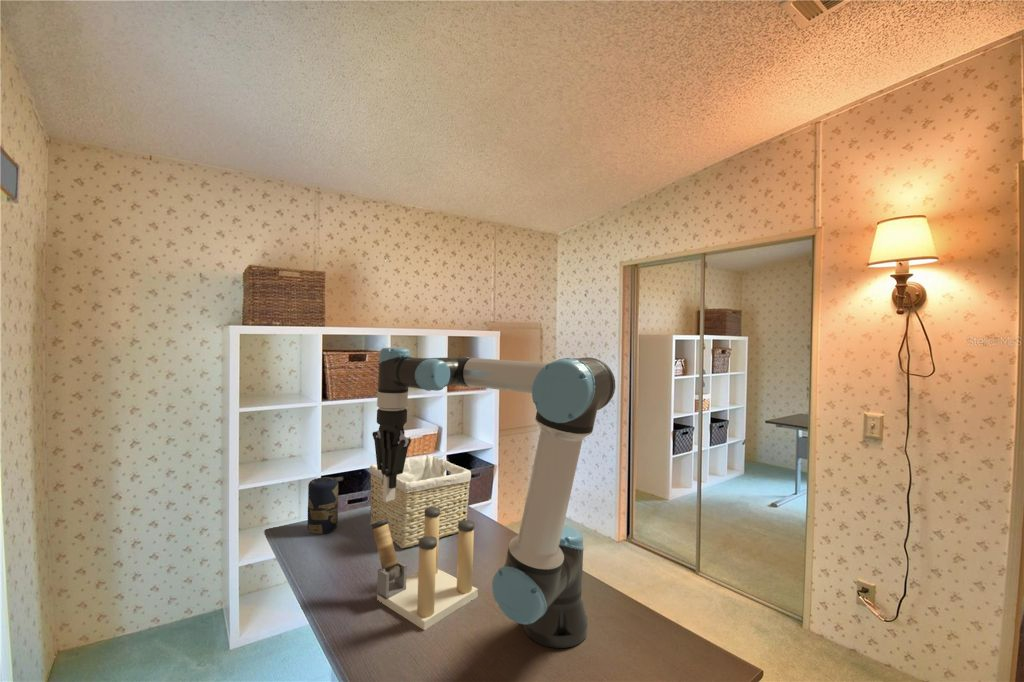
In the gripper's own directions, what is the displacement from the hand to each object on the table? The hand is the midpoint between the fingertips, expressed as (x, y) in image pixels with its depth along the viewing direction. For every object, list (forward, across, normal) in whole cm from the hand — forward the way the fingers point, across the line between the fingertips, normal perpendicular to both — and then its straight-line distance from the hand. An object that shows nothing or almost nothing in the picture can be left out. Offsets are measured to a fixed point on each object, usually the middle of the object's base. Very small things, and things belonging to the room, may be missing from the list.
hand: (388, 499), depth 117 cm
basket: (+26, +26, -33) cm, 49 cm away
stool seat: (+25, -9, -7) cm, 27 cm away
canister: (+26, +48, -10) cm, 55 cm away
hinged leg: (+14, +2, 0) cm, 14 cm away
